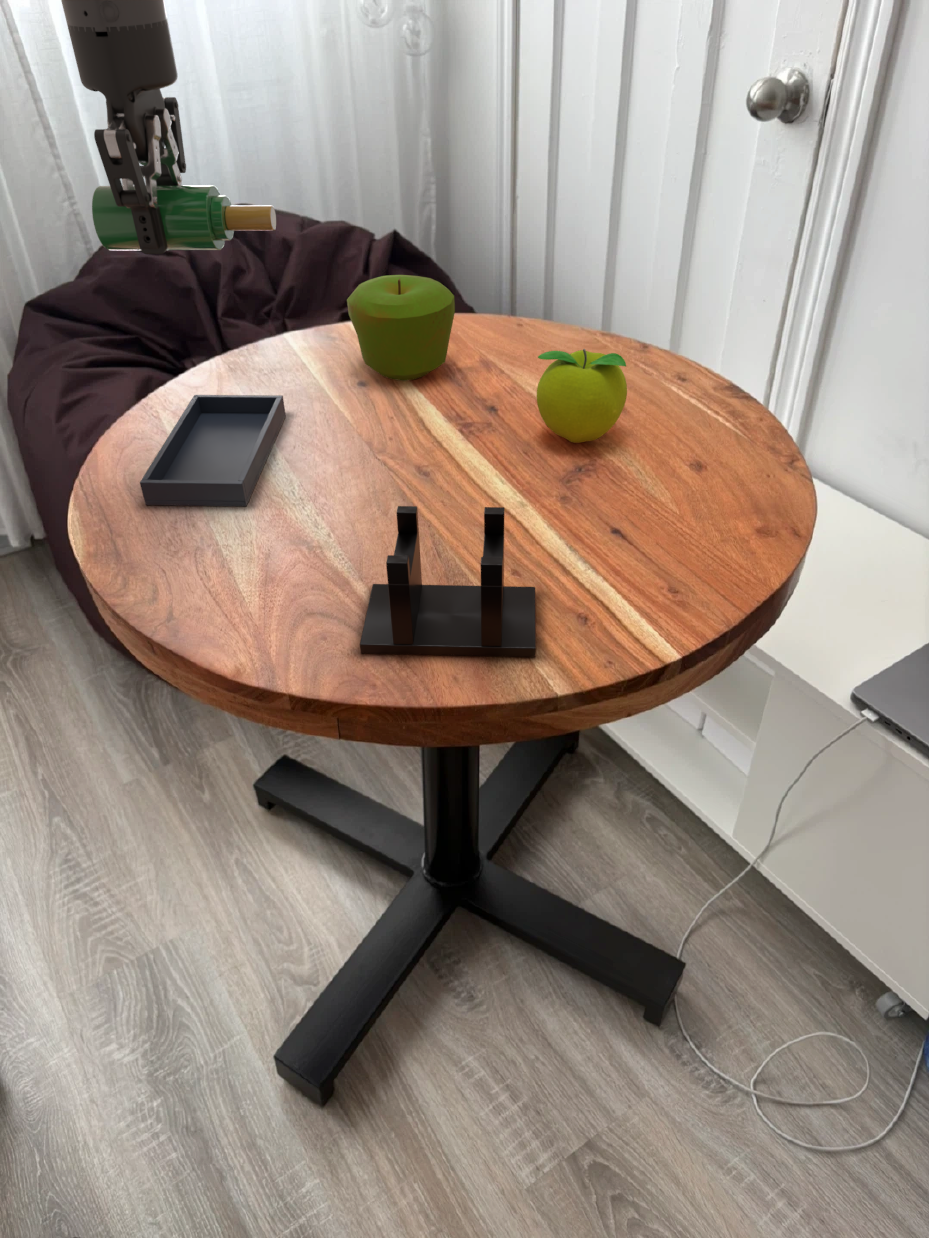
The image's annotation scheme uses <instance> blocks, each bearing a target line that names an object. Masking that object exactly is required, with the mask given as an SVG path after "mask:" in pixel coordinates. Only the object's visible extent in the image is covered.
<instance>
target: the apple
mask: <svg viewBox="0 0 929 1238" xmlns="http://www.w3.org/2000/svg"><path fill="white" fill-rule="evenodd" d="M455 303H456V302H455V295H454V294H453V293H452V292H451V290H450V289H449V288H447V287H446V286H445V285H443V284H442V283H441V282H440V281H438V280H435V279H433V278H431V277H426V276H418V275H410V274H409V275H408V274H391V275H390V274H389V275H381V276H378V277H374V278H371V279H368V280H366V281H363V282H361V283H359V284H358V286H357V287H356V288H355V289H354V291H352V293H351V294H350V295H349V297H347V299H346V305H347V312H348V316H349V320H350V321H351V325H352V326H353V328H354V331H355V334H356V336H357V341H358V344H359V345H358V346H359V349H360V353H361V358H362V360H363V362H364V364H365V366H367V367H368V368H370V369H371V370H373V371H375V372H376V373H377V374H379V375H381V376H382V377H383V378H387V379H390V380H393V381H394V380H395V381H403V382H404V381H415V380H418V379H419V378H422V377H425V376H427V375H428V374H429V373H431V372H432V371H434V370H436V369H438V368H439V367H440V366H442V365H443V364H445V363H446V360H447V355H448V349H449V344H450V339H451V333H452V329H453V322H454V319H455V313H456V304H455Z"/></svg>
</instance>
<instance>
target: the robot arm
mask: <svg viewBox="0 0 929 1238" xmlns="http://www.w3.org/2000/svg"><path fill="white" fill-rule="evenodd" d="M60 1H61V6H62V10H63V13H64V18H65V22H66V26H67V30H68V33H69V37H70V38H69V39H70V42H71V46H72V50H73V54H74V58H75V63H76V67H77V71H78V76H79V80H80V82H81V84H82V86H83V87H84V88H86V89H87V90H89V91H91V92H99V93H100V94H102V95H103V96H104V98H105V106H106V122H107V123H106V125H107V128H103V129H102V128H100V129H94V133H93V135H94V142H95V144H96V148H97V151H98V153H99V157H100V160H101V163H102V166H103V169H104V172H105V174H106V178H107V181H108V185H109V186H110V187H111V190H112V193H113V196H114V199H115V202H116V205H117V206H118V207H125V206H126V207H127V208H131V212H132V216H133V220H134V225H135V229H136V233H137V238H138V242H139V246H140V250H139V251H141V253H143V254H144V255H163V254H165V253H166V251H168V250H167V248H168V246H167V241H166V236H165V232H164V227H163V222H162V218H161V213H160V208H159V207H158V197H157V186H176V185H182V183H183V177H182V174H185V173H187V163H186V157H185V149H184V140H183V134H182V126H181V118H180V111H179V110H180V109H179V102H178V100H177V98H176V97H175V96H166V97H165V96H163V94H162V91H161V89H165V88H167V87H168V88H169V87H170V86H172V85H174V84H175V83H176V82H177V81H178V77H179V76H178V75H179V74H178V68H177V63H176V58H175V57H176V56H175V52H174V46H173V42H172V37H171V36H172V35H171V30H170V26H169V25H170V24H169V20H168V15H167V10H166V4H165V0H60ZM122 186H123V187H122ZM134 187H135V190H134Z"/></svg>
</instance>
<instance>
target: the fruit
mask: <svg viewBox="0 0 929 1238" xmlns="http://www.w3.org/2000/svg"><path fill="white" fill-rule="evenodd" d="M537 359H539V360H543V361H544V360H545V361H547V360H548V361H549V360H550V361H551V360H554V361H552V362H551V363H550V364H549V365H548V366H547V367H546V368H545V370H544V372H543V373H542V375H541V377H540V379H539V381H538V383H537V388H536V405H537V408H538V412H539V415H540V417H541V419H542V421H543V422H544V424H545V425H546V426H547V428H548V429H549V430H550V431H551V432H552V433H554V434H555V435H557V436H559V437H561V438H564V439H566V440H567V441H569V442H570V443H572V444H573V443H574V444H579V443H584V442H591V441H596V440H597V439H600V438H601V437H602V436H604V435H605V434H606V433H608V432H609V431H610V430H611V429H612V428H613V427H614V425H616V423H617V421H618V420H619V418H620V416H621V414H622V412H623V410H624V407H625V404H626V402H627V396H628V387H627V386H628V383H627V380H626V376H625V374H624V372H623V370H622V368H621V367H627V362H626V360H625V359H624V357H623V356H622V355H620V354H619V353H615V352H611V353H607V354H605V353H602V352H592V351H588V350H586V348H583V349H579V350H576V351H574V352H571V353H569V352H566V351H563V350H548V351H546V352H543V353H541V354H539V355H538V356H537Z"/></svg>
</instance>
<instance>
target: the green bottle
mask: <svg viewBox="0 0 929 1238" xmlns="http://www.w3.org/2000/svg"><path fill="white" fill-rule="evenodd" d="M122 187H123V185H122ZM134 190H135V187H134ZM157 197H158V207H159V208H160V213H161V218H162V222H163V227H164V232H165V236H166V241H167V246H168V248H167V250H166V251H221V250H222V249H223V248H224V246H225V243H226V241H232V239H233V237H234V233H235V231H236V232H239V231H240V232H242V231H245V232H246V231H248V232H249V231H250V232H251V231H253V232H254V231H255V232H256V231H257V232H260V231H262V232H263V231H264V232H265V231H267V232H268V231H269V232H270V231H271V232H273V231H276V227H277V215H276V210H275V207H274V206H273V205H233V204H232V202H231V200H230V198H229V196H227V195H221V193H220V191H219V189H218V187H216V186H215V185H211V184H208V185H207V184H206V185H205V184H204V185H203V184H202V185H201V184H200V185H198V184H197V185H194V184H193V185H192V184H191V185H186V184H185V185H184V184H183V185H182V184H181V185H176V186H157ZM91 214H92V215H91V216H92V221H93V226H94V229H95V233H96V236H97V238H98V240H99V242H100V244H101V245H102V247H103V248H105V249H106V250H108V251H141V250H140V246H139V242H138V238H137V233H136V229H135V225H134V220H133V216H132V212H131V208H127V207H126V206H125V207H118V206H117V205H116V202H115V199H114V196H113V193H112V190H111V187H110V185H98V186H97V187H96V188H95V189H94V191H93V194H92V200H91Z"/></svg>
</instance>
